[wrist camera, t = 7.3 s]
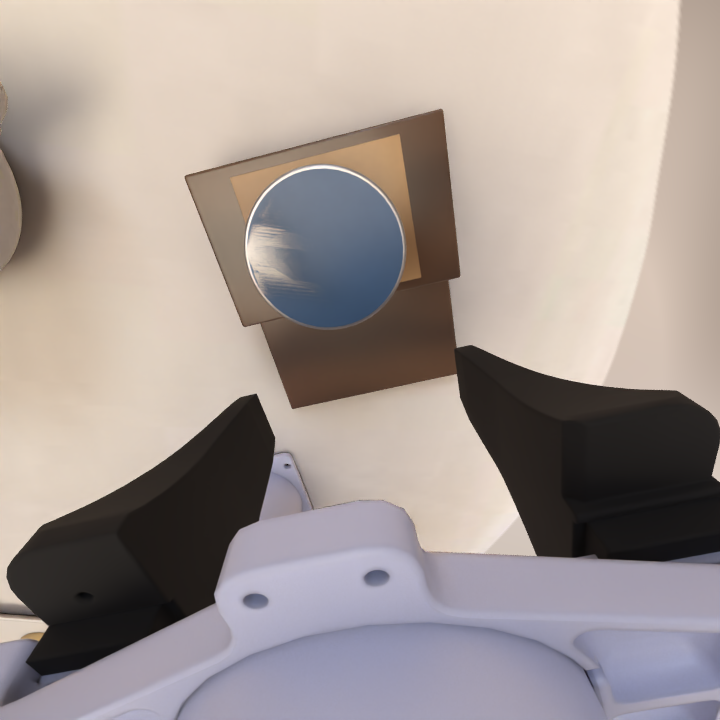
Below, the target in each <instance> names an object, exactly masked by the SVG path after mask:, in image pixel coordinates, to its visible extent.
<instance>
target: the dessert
mask: <svg viewBox="0 0 720 720" xmlns="http://www.w3.org/2000/svg"><path fill="white" fill-rule="evenodd" d="M48 627H49V626H47V625H46V624H45V623H44V622H43V621H42V620H41V619H40V618H39V617H38V616H25V615H11V614H0V643H3V642H8V641H13V640H19V639H33V640H37V641H40V639H41V637H42V636H43V634H44V633H45V631H46V630H47V628H48Z"/></svg>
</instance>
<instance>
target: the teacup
mask: <svg viewBox="0 0 720 720" xmlns="http://www.w3.org/2000/svg"><path fill="white" fill-rule="evenodd" d="M7 104H8V97H7V95H6V92H5V90H4V88H3V86H2V84H1V82H0V125H1V123H2V121H3V119H4V117H5V115H6V112H7ZM0 135H1V128H0ZM21 225H22V209H21V200H20V195H19V191H18V188H17V185H16V181H15V178H14V175H13V173H12V171H11V168H10V166H9V164H8V162H7V160H6V158H5V156H4V154H3V152H2V151H1V149H0V271H1V270H2V269H3V267H4V266H5V265H6V264H7V263H8V262H9V260H10V259H11V257H12V255H13V253H14V251H15V249H16V247H17V244H18V242H19V237H20V233H21Z"/></svg>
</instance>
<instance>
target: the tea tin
mask: <svg viewBox="0 0 720 720" xmlns="http://www.w3.org/2000/svg"><path fill="white" fill-rule="evenodd" d="M406 247H407V246H406V236H405V232H404V227H403V224H402V221H401V218H400V216H399V213H398V211H397V209H396V208H395V206H394V204H393V203H392V201H391V200H390V198H389V197H388V195H387V194H386V193H385V192H384V191H383V190H382V189H381V188H380V187H379V186H378V185H377V184H376V183H374V182H373V181H372V180H371V179H369V178H368V177H366V176H364V175H363V174H361V173H359V172H357V171H355V170H352V169H350V168H347V167H343V166H339V165H333V164H311V165H306V166H301V167H298V168H295V169H293V170H290V171H288V172H286V173H285V174H283V175H281V176H280V177H278V178H277V179H275V180H274V181H273V182H271V183H270V184H269V185H268V186H267V187H266V188H265V189H264V190H263V192H262V193H261V194H260V196H259V197H258V198H257V200H256V202H255V203H254V205H253V207H252V209H251V211H250V214H249V216H248V219H247V223H246V227H245V234H244V255H245V261H246V265H247V269H248V272H249V275H250V277H251V279H252V282H253V284H254V285H255V287H256V289H257V291H258V292H259V294H260V295H261V296H262V297H263V299H264V300H265V301H266V302H267V303H268V304H269V305H270V306H271V307H272V308H273V309H274V310H275V311H276V312H278V313H279V314H280V315H282V316H283V317H285V318H287V319H288V320H290V321H292V322H294V323H297V324H299V325H302V326H305V327H309V328H314V329H322V330H335V329H342V328H347V327H350V326H354V325H356V324H359V323H361V322H363V321H365V320H367V319H368V318H370V317H372V316H373V315H374V314H376V313H377V312H378V311H379V310H380V309H381V308H382V307H383V306H384V305H385V304H386V303H387V302H388V301H389V300H390V298H391V297H392V296H393V294H394V292H395V291H396V289H397V287H398V285H399V283H400V280H401V278H402V275H403V271H404V268H405V262H406Z"/></svg>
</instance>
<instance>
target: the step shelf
mask: <svg viewBox="0 0 720 720" xmlns="http://www.w3.org/2000/svg"><path fill="white" fill-rule="evenodd" d="M311 164H333V165H339V166H343V167H347V168H350V169H352V170H355V171H357V172H359V173H361V174H363V175H364V176H366V177H368V178H369V179H371V180H372V181H373V182H374V183H376V184H377V185H378V186H379V187H380V188H381V189H382V190H383V191H384V192H385V193H386V194H387V195H388V197H389V198H390V200H391V201H392V203H393V204H394V206H395V208H396V209H397V211H398V213H399V216H400V218H401V221H402V224H403V227H404V232H405V236H406V246H407V247H406V262H405V268H404V271H403V275H402V278H401V280H400V283H399V285H398V287H397V289H396V291H395V292H394V294H393V296H392V297H391V298H390V300H389V301H388V302H387V303H386V304H385V305H384V306H383V307H382V308H381V309H380V310H379V311H378V312H377V313H376V314H374V315H373V316H372V317H370V318H368V319H367V320H365V321H363V322H361V323H359V324H356V325H354V326H350V327H347V328H342V329H335V330H322V329H314V328H309V327H305V326H302V325H299V324H297V323H294V322H292V321H290V320H288V319H287V318H285V317H283V316H282V315H280V314H279V313H278V312H276V311H275V310H274V309H273V308H272V307H271V306H270V305H269V304H268V303H267V302H266V301H265V300H264V299H263V297H262V296H261V295H260V294H259V292H258V291H257V289H256V287H255V285H254V284H253V282H252V279H251V277H250V275H249V272H248V269H247V265H246V261H245V255H244V234H245V227H246V223H247V219H248V216H249V214H250V211H251V209H252V207H253V205H254V203H255V202H256V200H257V198H258V197H259V196H260V194H261V193H262V192H263V190H264V189H265V188H266V187H267V186H268V185H269V184H270V183H271V182H273V181H274V180H275V179H277V178H278V177H280V176H281V175H283V174H285V173H286V172H288V171H290V170H293V169H295V168H298V167H301V166H306V165H311ZM185 180H186V183H187V185H188V188H189V190H190V193H191V195H192V198H193V200H194V203H195V205H196V208H197V210H198V213H199V215H200V218H201V221H202V223H203V226H204V228H205V231H206V233H207V236H208V238H209V241H210V243H211V246H212V248H213V251H214V254H215V256H216V259H217V261H218V264H219V266H220V269H221V271H222V274H223V276H224V279H225V281H226V284H227V287H228V289H229V292H230V294H231V297H232V299H233V302H234V304H235V307H236V309H237V312H238V314H239V317H240V320H241V322H242V325H243V326H244V327H246V326H251V325H255V324H259V323H260V324H261V326H262V329H263V332H264V334H265V337H266V340H267V342H268V345H269V348H270V351H271V353H272V356H273V359H274V361H275V364H276V367H277V369H278V372H279V375H280V378H281V380H282V383H283V386H284V388H285V391H286V394H287V396H288V399H289V402H290V405H291V407H292V409H295V408H299V407H304V406H309V405H313V404H318V403H323V402H327V401H332V400H337V399H341V398H346V397H351V396H355V395H360V394H365V393H369V392H374V391H379V390H383V389H388V388H393V387H397V386H402V385H407V384H411V383H416V382H421V381H425V380H430V379H435V378H439V377H444V376H449V375H453V374H457V369H456V361H455V354H454V349H456V340H455V331H454V323H453V315H452V306H451V298H450V290H449V282H448V280H450V279H454V278H459V277H460V266H459V257H458V247H457V238H456V228H455V219H454V209H453V200H452V190H451V181H450V171H449V162H448V152H447V143H446V133H445V124H444V114H443V110H442V109H439V110H435V111H431V112H427V113H423V114H419V115H416V116H412V117H408V118H404V119H400V120H396V121H393V122H389V123H385V124H381V125H377V126H373V127H369V128H366V129H362V130H358V131H354V132H350V133H346V134H343V135H339V136H335V137H331V138H327V139H323V140H319V141H316V142H312V143H308V144H304V145H300V146H296V147H293V148H289V149H285V150H281V151H277V152H273V153H270V154H266V155H262V156H258V157H254V158H250V159H246V160H243V161H239V162H235V163H231V164H227V165H223V166H220V167H216V168H212V169H208V170H204V171H200V172H196V173H193V174H189V175H186V176H185Z"/></svg>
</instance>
